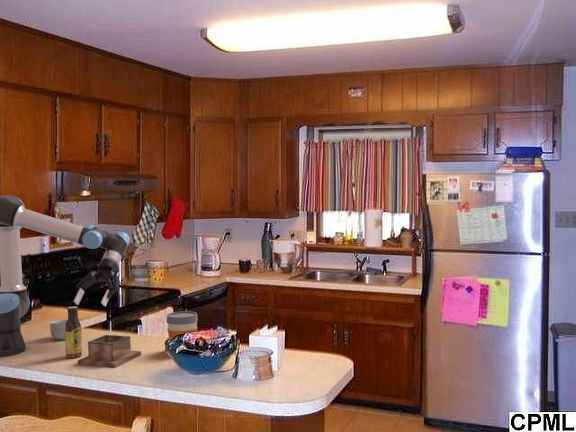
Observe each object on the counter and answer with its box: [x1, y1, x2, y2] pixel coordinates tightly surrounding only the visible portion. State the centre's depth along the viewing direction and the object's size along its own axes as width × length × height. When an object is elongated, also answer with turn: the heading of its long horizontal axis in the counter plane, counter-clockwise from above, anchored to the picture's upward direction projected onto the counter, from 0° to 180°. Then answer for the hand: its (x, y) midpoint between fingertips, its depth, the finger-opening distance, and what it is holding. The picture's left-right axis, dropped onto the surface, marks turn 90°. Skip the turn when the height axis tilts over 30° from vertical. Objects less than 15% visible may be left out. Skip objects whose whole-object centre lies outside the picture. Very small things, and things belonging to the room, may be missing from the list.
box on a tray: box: [77, 334, 142, 368], centre depth 242 cm, size 17×17×8 cm
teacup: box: [49, 318, 83, 340], centre depth 278 cm, size 14×11×8 cm
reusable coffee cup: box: [166, 310, 199, 339], centre depth 252 cm, size 13×13×15 cm
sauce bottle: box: [64, 305, 83, 359], centre depth 248 cm, size 7×6×20 cm
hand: (89, 303), depth 257 cm, fingers open, 13 cm apart
